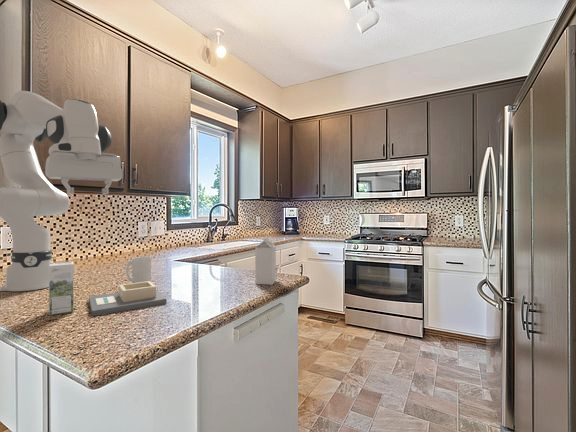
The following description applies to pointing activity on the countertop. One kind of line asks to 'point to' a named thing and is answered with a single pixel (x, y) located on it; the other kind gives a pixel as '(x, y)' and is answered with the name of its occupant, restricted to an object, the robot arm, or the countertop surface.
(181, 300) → the countertop surface
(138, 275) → the mug
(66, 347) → the countertop surface
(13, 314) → the countertop surface
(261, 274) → the milk carton
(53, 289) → the syrup box
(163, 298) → the holder board
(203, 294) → the countertop surface
